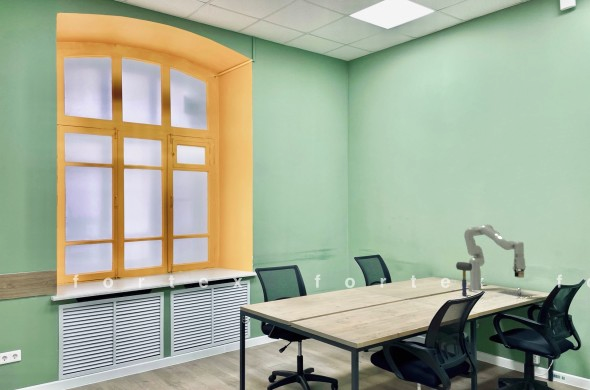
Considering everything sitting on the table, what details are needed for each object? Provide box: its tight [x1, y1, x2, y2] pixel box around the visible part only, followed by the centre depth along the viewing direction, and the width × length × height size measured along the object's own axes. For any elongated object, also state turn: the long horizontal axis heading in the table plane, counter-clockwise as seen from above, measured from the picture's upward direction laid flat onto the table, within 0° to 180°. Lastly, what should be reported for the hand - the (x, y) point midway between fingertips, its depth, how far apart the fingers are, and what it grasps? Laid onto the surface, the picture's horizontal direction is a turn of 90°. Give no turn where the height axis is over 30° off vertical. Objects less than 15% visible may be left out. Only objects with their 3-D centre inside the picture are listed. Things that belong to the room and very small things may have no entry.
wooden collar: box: [514, 270, 525, 279], centre depth 393 cm, size 8×7×5 cm
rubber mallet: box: [455, 261, 472, 297], centre depth 398 cm, size 12×8×30 cm, turn 41°
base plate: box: [497, 290, 529, 298], centre depth 399 cm, size 24×12×2 cm, turn 27°
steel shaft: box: [517, 287, 522, 296], centre depth 393 cm, size 2×2×6 cm
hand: (519, 276), depth 393 cm, fingers closed on wooden collar, 7 cm apart
